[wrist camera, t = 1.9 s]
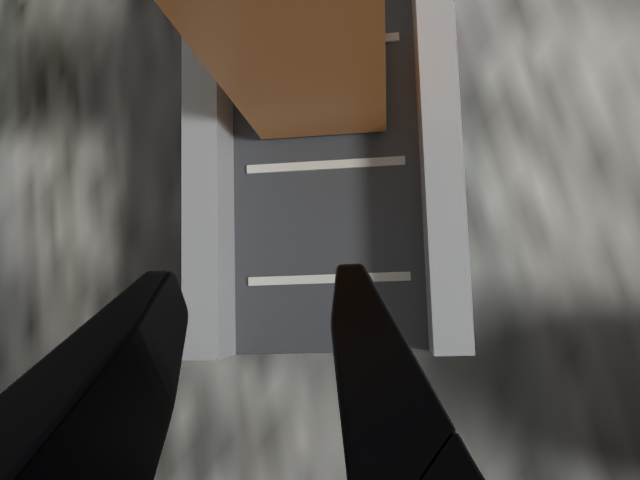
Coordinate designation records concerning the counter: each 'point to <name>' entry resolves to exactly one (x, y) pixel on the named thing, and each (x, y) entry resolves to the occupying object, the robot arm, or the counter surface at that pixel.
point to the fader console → (329, 208)
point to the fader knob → (292, 61)
